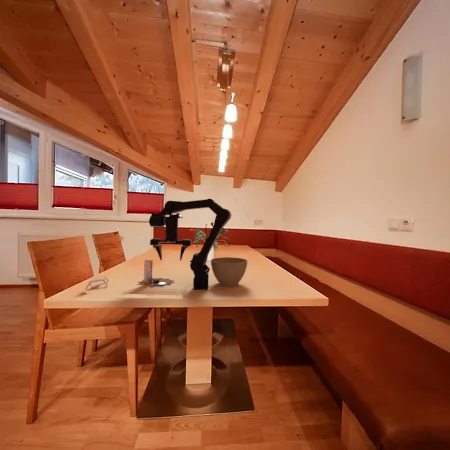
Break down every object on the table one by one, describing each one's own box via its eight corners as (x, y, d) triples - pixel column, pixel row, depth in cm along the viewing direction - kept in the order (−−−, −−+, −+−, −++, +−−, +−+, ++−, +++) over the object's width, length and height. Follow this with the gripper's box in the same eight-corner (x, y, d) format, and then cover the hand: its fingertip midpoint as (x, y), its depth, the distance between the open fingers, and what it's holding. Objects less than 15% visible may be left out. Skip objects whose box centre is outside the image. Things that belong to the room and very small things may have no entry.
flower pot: (222, 278, 132) (223, 256, 132) (252, 283, 122) (253, 259, 122) (203, 285, 117) (203, 260, 116) (235, 291, 107) (236, 264, 107)
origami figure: (105, 293, 100) (105, 281, 100) (83, 293, 99) (83, 281, 99) (114, 285, 112) (114, 275, 112) (95, 285, 111) (95, 275, 111)
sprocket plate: (177, 281, 122) (177, 275, 122) (171, 291, 105) (171, 284, 105) (143, 280, 122) (143, 274, 122) (131, 290, 105) (131, 283, 105)
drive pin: (151, 283, 111) (152, 259, 111) (152, 285, 108) (152, 261, 107) (143, 283, 110) (144, 259, 110) (143, 285, 106) (144, 261, 106)
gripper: (193, 227, 122) (192, 258, 122) (156, 226, 121) (155, 257, 122) (190, 228, 111) (189, 261, 111) (150, 227, 110) (149, 260, 111)
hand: (170, 260), depth 114 cm, fingers open, 9 cm apart
